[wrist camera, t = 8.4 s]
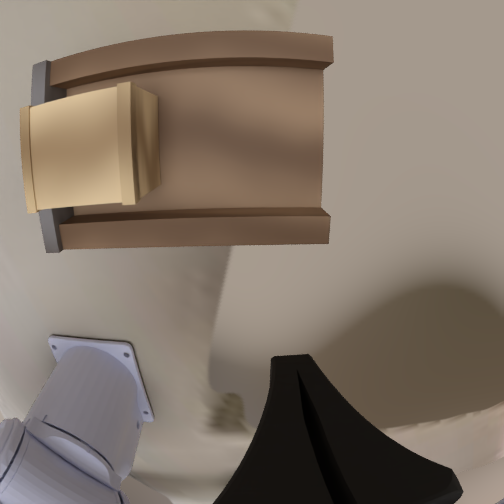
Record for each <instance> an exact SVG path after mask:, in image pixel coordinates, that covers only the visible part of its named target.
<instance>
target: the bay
mask: <svg viewBox="0 0 504 504" xmlns="http://www.w3.org/2000/svg"><path fill="white" fill-rule="evenodd" d="M333 62H334V60H333V38H332V36H325V35H317V34H307V33H295V32H280V31H212V32H196V33H185V34H175V35H167V36H159V37H152V38H146V39H140V40H134V41H128V42H123V43H118V44H114V45H109V46H105V47H100V48H96V49H92V50H88V51H85V52H81V53H77V54H74V55H70V56H67V57H64V58H61V59H57V60H54V61H47V60H46V61H43V62H40V63H37V64H35V65H33V71H32V89H31V106H37V105H40V104H44V103H47V102H51V101H54V100H58V99H62V98H66V97H70V96H74V95H78V94H82V93H87V92H91V91H96V90H101V89H106V88H111V87H117V84H119V83H124V82H133V83H135V84H136V86H137V87H139V88H141V89H143V90H146V91H148V92H150V93H152V94H154V95H156V96H158V132H159V160H160V179H161V185H160V186H158V187H157V188H155V189H154V190H152V191H151V192H149V193H148V194H146V195H145V196H143V197H142V198H141V201H139V202H138V203H137V204H134V205H122V202H121V203H107V204H95V205H83V206H72V207H61V208H51V209H43V210H41V211H39V217H40V223H41V228H42V234H43V239H44V244H45V249H46V253H59V252H61V251H62V250H63V249H98V248H137V247H180V246H228V245H283V244H328V243H329V231H330V218H331V216H330V215H329V214H328V213H326V212H325V211H324V210H323V209H322V208H321V196H322V171H323V129H324V125H323V124H324V92H323V91H324V90H323V70H324V69H325V68H327V67H328V66H329V65H331V64H332V63H333Z"/></svg>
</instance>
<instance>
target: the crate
mask: <svg viewBox="0 0 504 504" xmlns="http://www.w3.org/2000/svg"><path fill="white" fill-rule="evenodd" d="M20 141H21V158H22V170H23V180H24V189H25V197H26V204H27V211H28V213H37V212H39V211H41V210H43V209H51V208H61V207H72V206H83V205H95V204H107V203H121V202H122V205H134V204H137V203H138V202H139V201H141V198H142V197H143V196H145V195H146V194H148V193H149V192H151V191H152V190H154V189H155V188H157V187H158V186H160V185H161V179H160V160H159V132H158V96H156V95H154V94H152V93H150V92H148V91H146V90H143V89H141V88H139V87H137V86H136V84H135V83H133V82H124V83H119V84H117V87H111V88H106V89H101V90H96V91H91V92H87V93H82V94H78V95H74V96H70V97H66V98H62V99H58V100H54V101H51V102H47V103H44V104H40V105H37V106H26V107H23V108H20Z"/></svg>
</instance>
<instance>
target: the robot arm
mask: <svg viewBox="0 0 504 504" xmlns="http://www.w3.org/2000/svg"><path fill="white" fill-rule="evenodd" d="M48 343H49V345H50V348H51V350H52V352H53V355H54V357H55V360H56V362H57V365H56V367H55V369H54V370H53V372H52V373H51V375H50V377H49V378H48V380H47V381H46V383H45V385H44V386H43V388H42V390H41V391H40V393H39V395H38V396H37V398H36V400H35V402H34V403H33V405H32V407H31V409H30V410H29V412H28V414H27V416H26V417H25V419H24V421H23V422H21V421H20V420H19V419H17V418H13V419H4V420H3V421H2V422H1V423H0V504H130V502H129V499H128V497H127V495H126V494H125V493H124V492H123V491H121V490H120V485H121V481H122V480H124V479H125V478H126V477H127V476H128V474H129V473H130V471H131V469H132V466H133V462H134V458H135V453H136V449H137V445H138V441H139V437H140V433H141V429H142V425H143V422H153V421H154V415H153V413H152V410H151V407H150V404H149V401H148V398H147V395H146V392H145V389H144V386H143V382H142V379H141V376H140V373H139V369H138V366H137V362H136V359H135V355H134V352H133V348H132V346H131V345H130V344H129V343H127V342H115V341H102V340H90V339H80V338H70V337H61V336H53V335H52V336H50V337H49V338H48ZM54 345H55V346H54ZM125 352H126V353H128V354H126V353H125ZM462 493H463V490H462V487H461V485H460V483H459V481H458V479H457V477H456V475H455V474H454V472H453V470H452V469H450V468H448V467H445V466H443V465H440V464H438V463H435V462H433V461H430V460H428V459H426V458H424V457H422V456H420V455H418V454H416V453H414V452H412V451H410V450H408V449H407V448H405V447H404V446H402V445H400V444H399V443H397V442H396V441H394V440H392V439H391V438H389V437H388V436H386V435H385V434H384V433H382V432H381V431H380V430H378V429H377V428H376V427H375V426H373V425H372V424H371V423H370V422H369V421H367V420H366V419H365V418H364V417H363V416H362V415H361V414H359V412H357V411H356V410H355V409H354V408H353V407H352V406H351V405H350V404H349V403H348V401H346V399H345V398H344V397H343V396H342V395H341V394H340V393H339V392H338V390H337V389H336V388H335V387H334V386H333V385H332V384H331V383H330V381H329V380H328V379H327V377H326V376H325V375H324V373H323V372H322V371H321V370H320V368H319V367H318V366H317V364H316V363H315V361H314V360H313V358H312V357H311V356H310V355H309V354H303V355H289V356H288V355H287V356H274V357H273V358H271V369H270V388H269V393H268V397H267V402H266V404H265V408H264V411H263V414H262V417H261V420H260V423H259V425H258V428H257V430H256V433H255V435H254V437H253V440H252V442H251V444H250V446H249V448H248V450H247V452H246V454H245V456H244V458H243V460H242V461H241V463H240V465H239V467H238V468H237V470H236V471H235V473H234V475H233V476H232V478H231V479H230V481H229V482H228V484H227V485H226V487H225V488H224V490H223V491H222V492H221V494H220V495H219V496H218V498H217V499H216V500H215V501H214V503H213V504H454V503H455V502H456V501H457V500H458V499H459V498H460V497H461V496H462ZM496 504H504V499H502V500H500V501H499V502H498V503H496Z"/></svg>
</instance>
